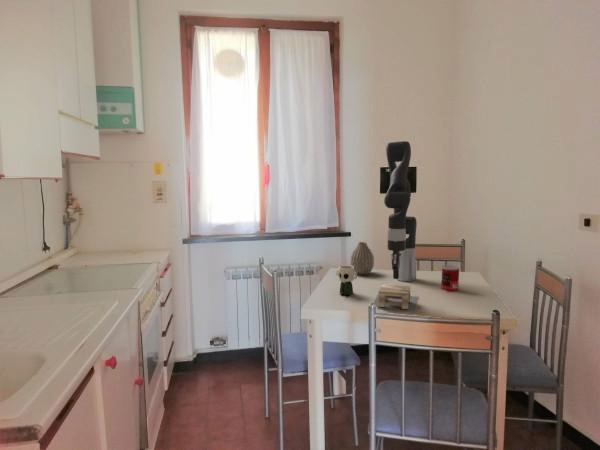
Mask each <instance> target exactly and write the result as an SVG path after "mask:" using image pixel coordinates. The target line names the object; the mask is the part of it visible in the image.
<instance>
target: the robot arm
mask: <svg viewBox="0 0 600 450" xmlns="http://www.w3.org/2000/svg"><path fill="white" fill-rule="evenodd" d="M386 144H387V145H386V147H385V153H386V154H385V155H386V159H387V160H386V161H387V164H388V170H389V171H388V172H389V177H390V179H389V188H388V189H387V192H386V193H385V196H384V201H383V202H384V205H385V207H386V208H388V209H393V213H392V214H389V216H388V229H387V250H389V251H392V253H391V254H390V258H391V269H392V272H393V273H392V274H393V275H392V279H394V280H397V281H400V282H414V281H415V280H417V261H416V239H417V237H416V236H417V218H416V217H415V216H407V213H408V210H409V207H410V203H411V195H412V192H411V183H410V181H409V179H408V178H407V177H408V171H409V167H410V162H411V157H412V149H411V144H410V142H409V141H406V140H405V141H404V140H403V141H394V142H388V143H386ZM398 162H399V163H398ZM397 163H398V165H397ZM407 235H408V237H407Z"/></svg>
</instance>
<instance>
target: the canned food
mask: <svg viewBox="0 0 600 450" xmlns="http://www.w3.org/2000/svg"><path fill="white" fill-rule="evenodd" d="M459 276H460V267H459V266H458V265H452V264H450V265H449V264H448V265H443V266H442V267H441V289H442V290H443V291H446V292H457V291H458V290H459V283H460V281H459V280H460V277H459Z"/></svg>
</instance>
